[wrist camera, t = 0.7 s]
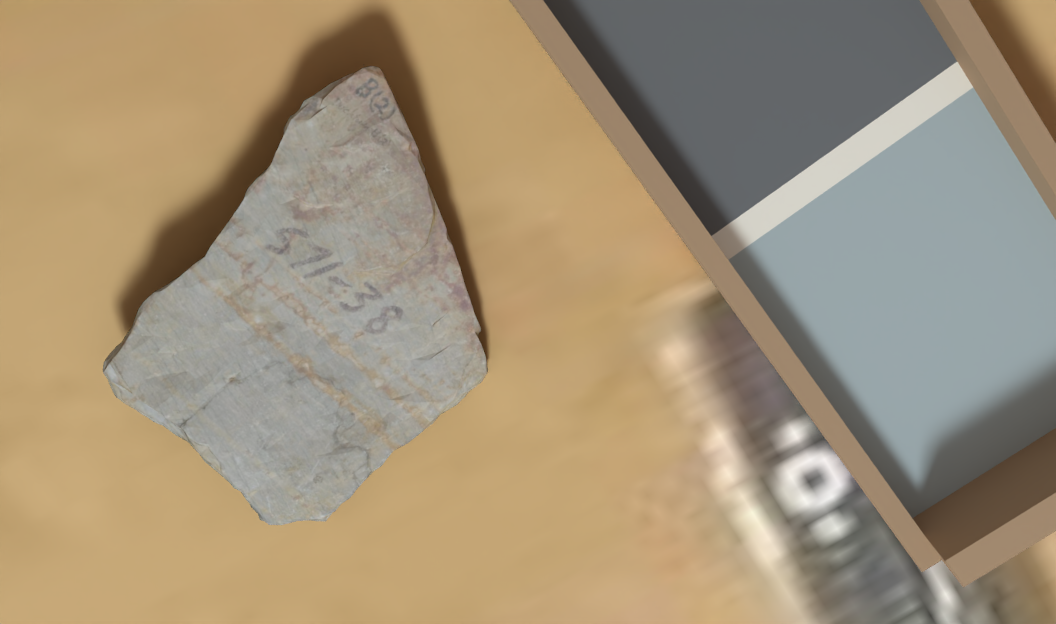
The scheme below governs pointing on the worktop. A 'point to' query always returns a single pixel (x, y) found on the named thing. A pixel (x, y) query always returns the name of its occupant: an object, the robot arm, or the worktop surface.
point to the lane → (858, 232)
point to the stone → (312, 315)
